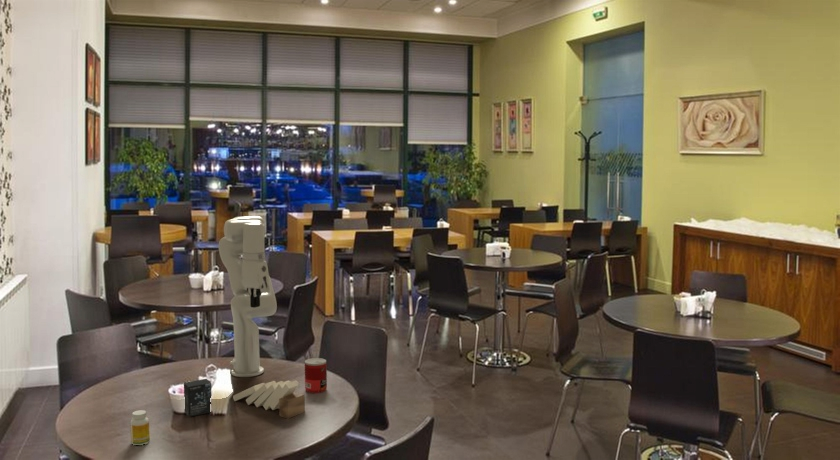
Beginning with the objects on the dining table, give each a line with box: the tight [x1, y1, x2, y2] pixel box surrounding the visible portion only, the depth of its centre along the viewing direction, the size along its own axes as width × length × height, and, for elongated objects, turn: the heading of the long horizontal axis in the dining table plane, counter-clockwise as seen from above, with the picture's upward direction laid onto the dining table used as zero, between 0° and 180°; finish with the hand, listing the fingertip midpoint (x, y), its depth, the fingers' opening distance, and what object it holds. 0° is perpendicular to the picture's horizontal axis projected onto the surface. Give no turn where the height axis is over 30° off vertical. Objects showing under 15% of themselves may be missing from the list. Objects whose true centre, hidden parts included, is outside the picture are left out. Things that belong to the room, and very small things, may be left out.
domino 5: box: [270, 379, 300, 411], centre depth 258 cm, size 2×5×12 cm
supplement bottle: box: [129, 409, 151, 446], centre depth 232 cm, size 5×5×10 cm
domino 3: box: [253, 380, 284, 408], centre depth 262 cm, size 2×5×12 cm
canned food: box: [304, 357, 328, 394], centre depth 281 cm, size 8×8×11 cm
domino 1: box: [232, 382, 266, 402], centre depth 268 cm, size 2×5×12 cm
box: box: [183, 378, 212, 418], centre depth 257 cm, size 8×6×11 cm
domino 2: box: [245, 380, 277, 406], centre depth 265 cm, size 2×5×12 cm
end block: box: [278, 391, 306, 419], centre depth 257 cm, size 4×8×6 cm, turn 146°
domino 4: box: [262, 380, 291, 411], centre depth 260 cm, size 2×5×12 cm
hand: (255, 306), depth 278 cm, fingers closed
